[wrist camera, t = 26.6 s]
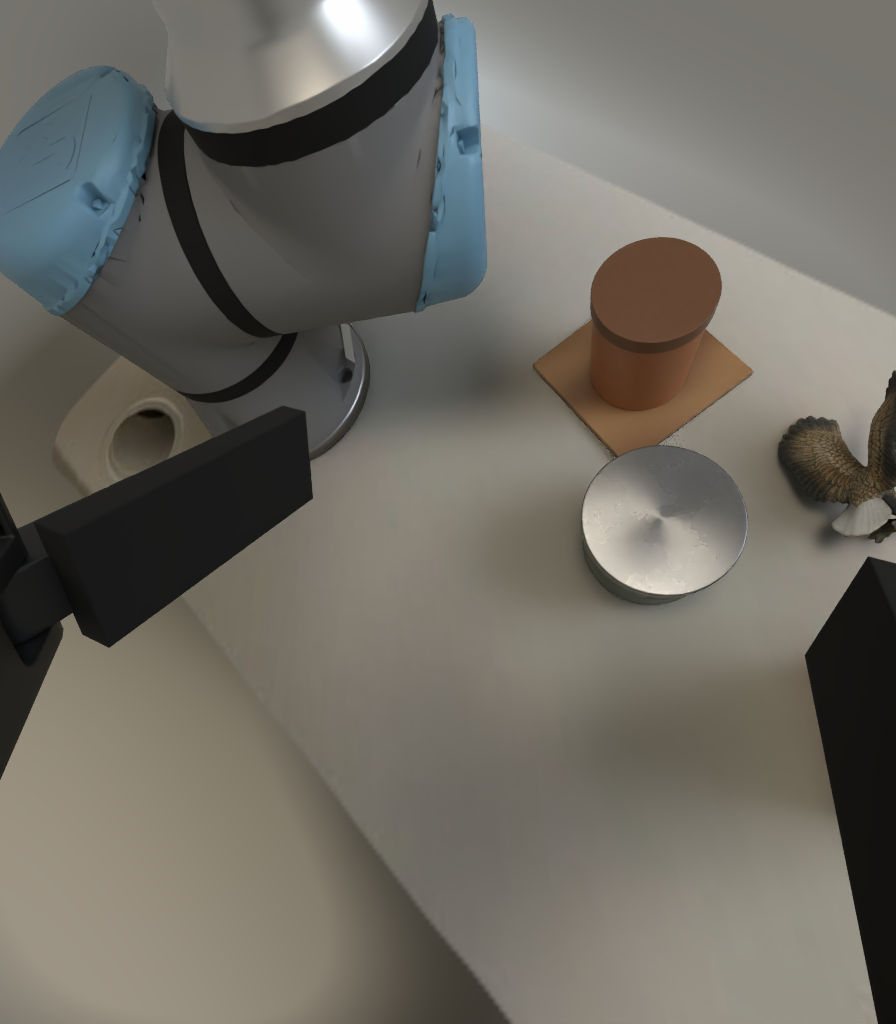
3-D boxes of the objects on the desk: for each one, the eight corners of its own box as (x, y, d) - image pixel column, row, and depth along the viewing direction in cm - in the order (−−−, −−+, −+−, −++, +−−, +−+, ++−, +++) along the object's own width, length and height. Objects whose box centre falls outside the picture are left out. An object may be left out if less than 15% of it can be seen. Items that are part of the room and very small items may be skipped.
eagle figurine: (982, 501, 30) (906, 367, 32) (1003, 519, 25) (909, 356, 26) (833, 545, 35) (772, 427, 37) (823, 567, 30) (752, 428, 31)
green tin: (555, 532, 37) (550, 505, 30) (653, 459, 37) (670, 416, 30) (638, 634, 34) (652, 628, 27) (746, 554, 34) (786, 530, 27)
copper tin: (568, 367, 40) (566, 289, 31) (643, 310, 39) (661, 216, 31) (631, 431, 37) (646, 365, 29) (711, 371, 37) (751, 287, 28)
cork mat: (532, 367, 41) (532, 364, 40) (645, 282, 41) (646, 277, 40) (626, 468, 37) (627, 465, 37) (752, 374, 37) (754, 371, 36)
